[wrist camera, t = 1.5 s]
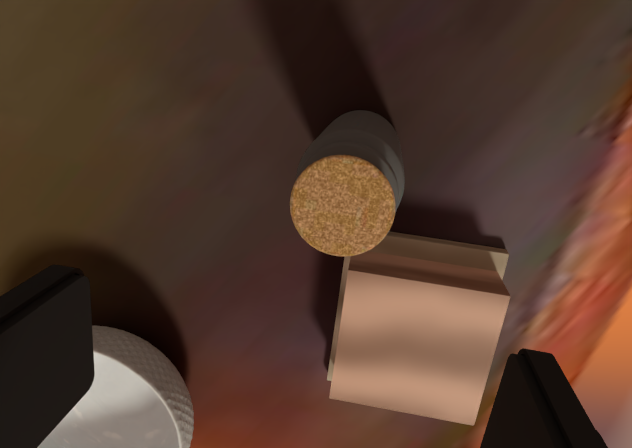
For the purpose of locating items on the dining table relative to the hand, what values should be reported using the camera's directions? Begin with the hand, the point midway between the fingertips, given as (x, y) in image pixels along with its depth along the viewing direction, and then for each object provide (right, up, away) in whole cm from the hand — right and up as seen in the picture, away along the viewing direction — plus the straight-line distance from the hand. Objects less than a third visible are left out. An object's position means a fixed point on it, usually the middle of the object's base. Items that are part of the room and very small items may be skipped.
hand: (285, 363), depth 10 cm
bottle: (+4, +9, +25) cm, 26 cm away
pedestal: (+8, -4, +28) cm, 30 cm away
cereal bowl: (-17, -12, +35) cm, 41 cm away
